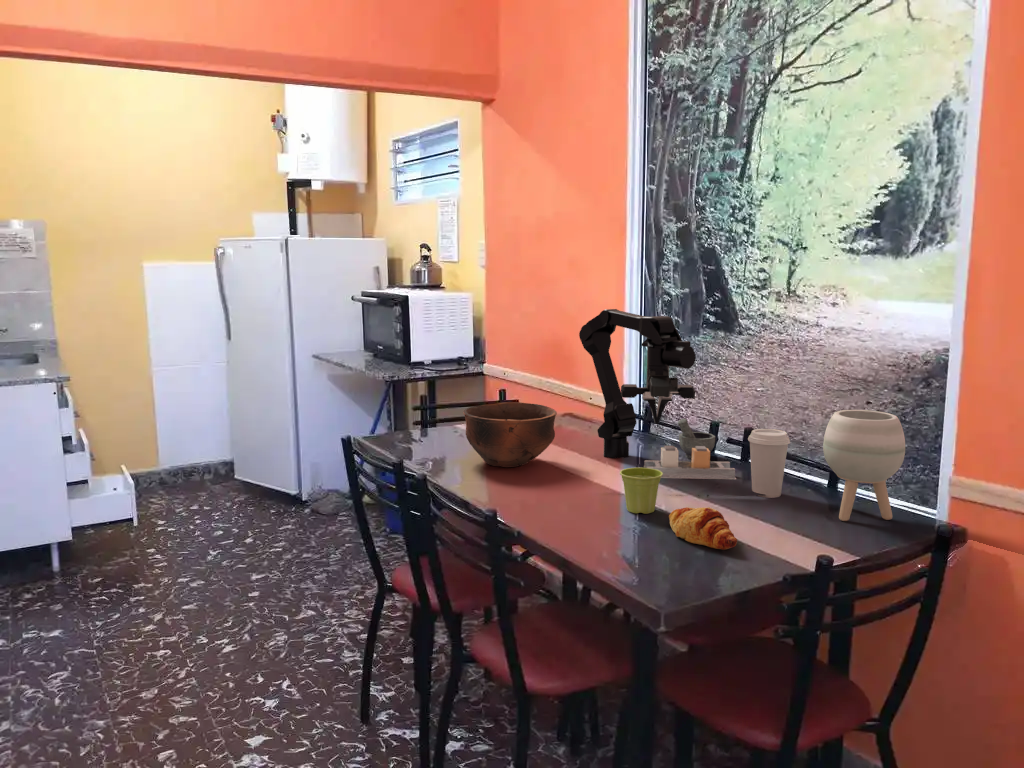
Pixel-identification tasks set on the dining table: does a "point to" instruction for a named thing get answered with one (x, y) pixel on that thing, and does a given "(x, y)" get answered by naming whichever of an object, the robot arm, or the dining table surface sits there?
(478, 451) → the bowl
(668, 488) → the dining table surface
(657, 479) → the plant pot
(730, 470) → the grey tray
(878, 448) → the planter
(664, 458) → the block
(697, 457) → the block
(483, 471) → the dining table surface
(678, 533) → the croissant
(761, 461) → the coffee cup
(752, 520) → the dining table surface
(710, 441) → the mortar and pestle
